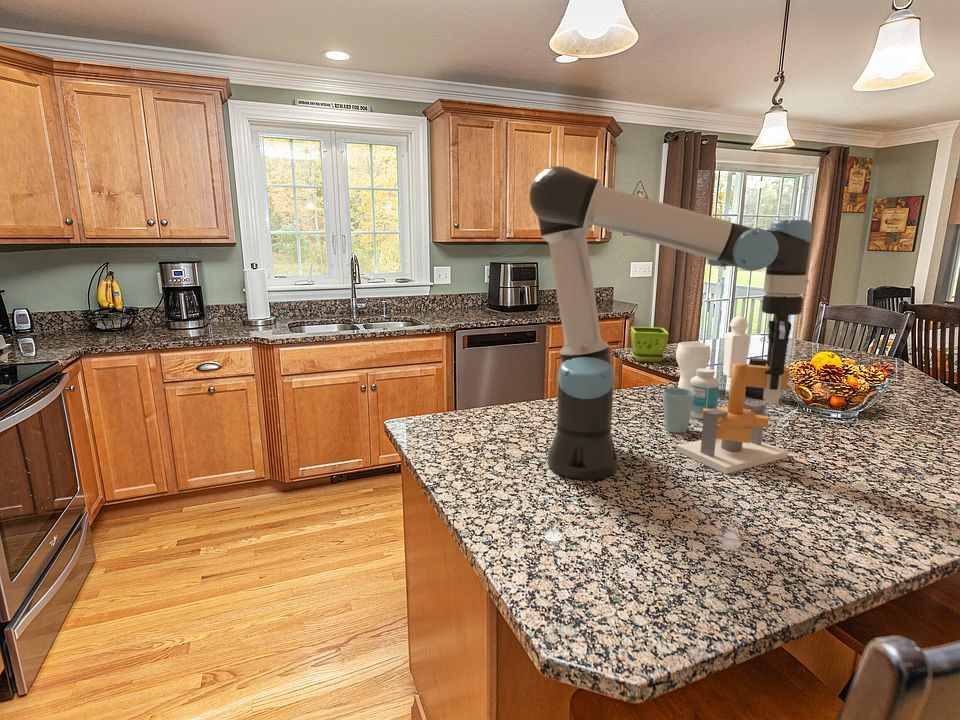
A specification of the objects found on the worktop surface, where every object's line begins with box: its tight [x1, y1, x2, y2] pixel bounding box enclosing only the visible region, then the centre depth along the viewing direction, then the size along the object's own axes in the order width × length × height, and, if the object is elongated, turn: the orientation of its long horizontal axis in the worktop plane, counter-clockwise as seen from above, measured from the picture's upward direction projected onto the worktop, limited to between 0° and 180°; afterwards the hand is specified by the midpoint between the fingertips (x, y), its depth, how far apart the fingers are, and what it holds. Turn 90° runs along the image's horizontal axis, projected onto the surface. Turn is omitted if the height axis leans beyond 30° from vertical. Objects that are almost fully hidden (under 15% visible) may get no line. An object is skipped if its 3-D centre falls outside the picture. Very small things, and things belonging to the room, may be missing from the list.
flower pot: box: [630, 326, 670, 363], centre depth 221 cm, size 14×14×13 cm
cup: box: [662, 387, 695, 434], centre depth 139 cm, size 8×8×10 cm
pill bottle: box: [690, 367, 720, 420], centre depth 150 cm, size 8×7×14 cm
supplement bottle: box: [745, 357, 767, 399], centre depth 169 cm, size 7×7×12 cm
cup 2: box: [675, 341, 712, 390], centre depth 178 cm, size 11×11×15 cm
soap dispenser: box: [722, 315, 752, 378], centre depth 193 cm, size 6×6×22 cm
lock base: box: [675, 401, 789, 475], centre depth 123 cm, size 20×14×11 cm
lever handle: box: [701, 363, 790, 443], centre depth 121 cm, size 8×16×17 cm, turn 63°
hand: (770, 400), depth 118 cm, fingers closed on lever handle, 3 cm apart
